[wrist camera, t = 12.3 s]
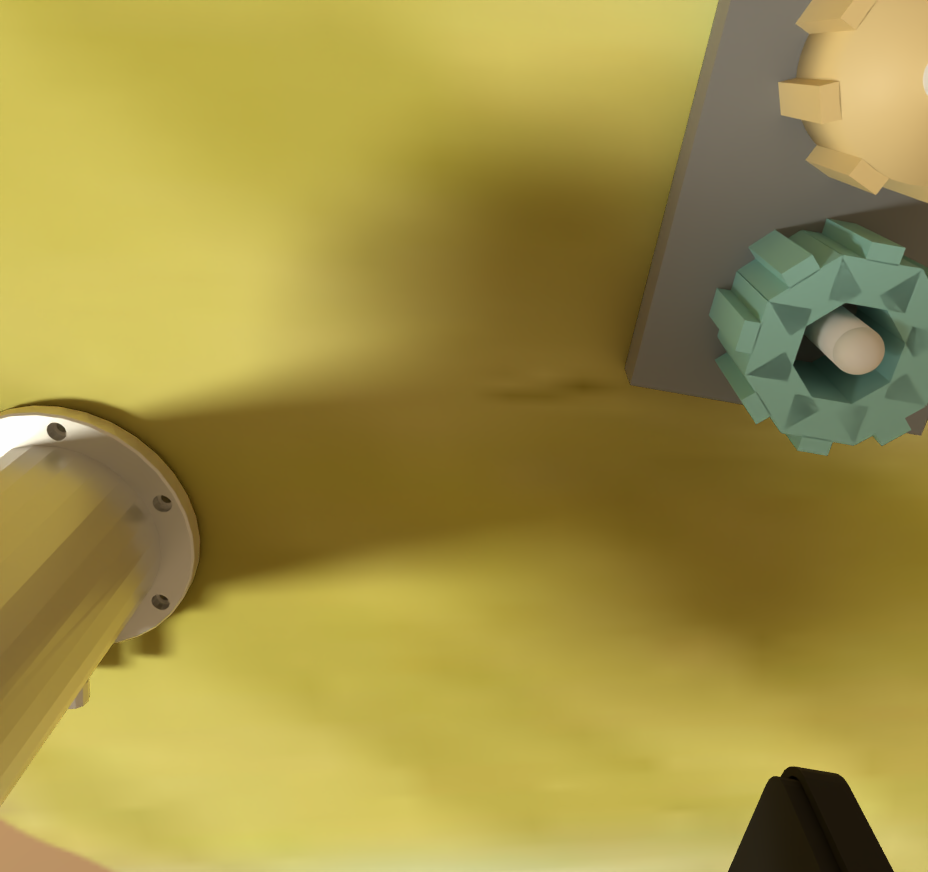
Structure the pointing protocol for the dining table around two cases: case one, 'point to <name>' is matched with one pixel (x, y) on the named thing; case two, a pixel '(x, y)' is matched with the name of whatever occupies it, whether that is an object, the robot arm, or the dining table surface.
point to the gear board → (788, 172)
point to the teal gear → (806, 300)
